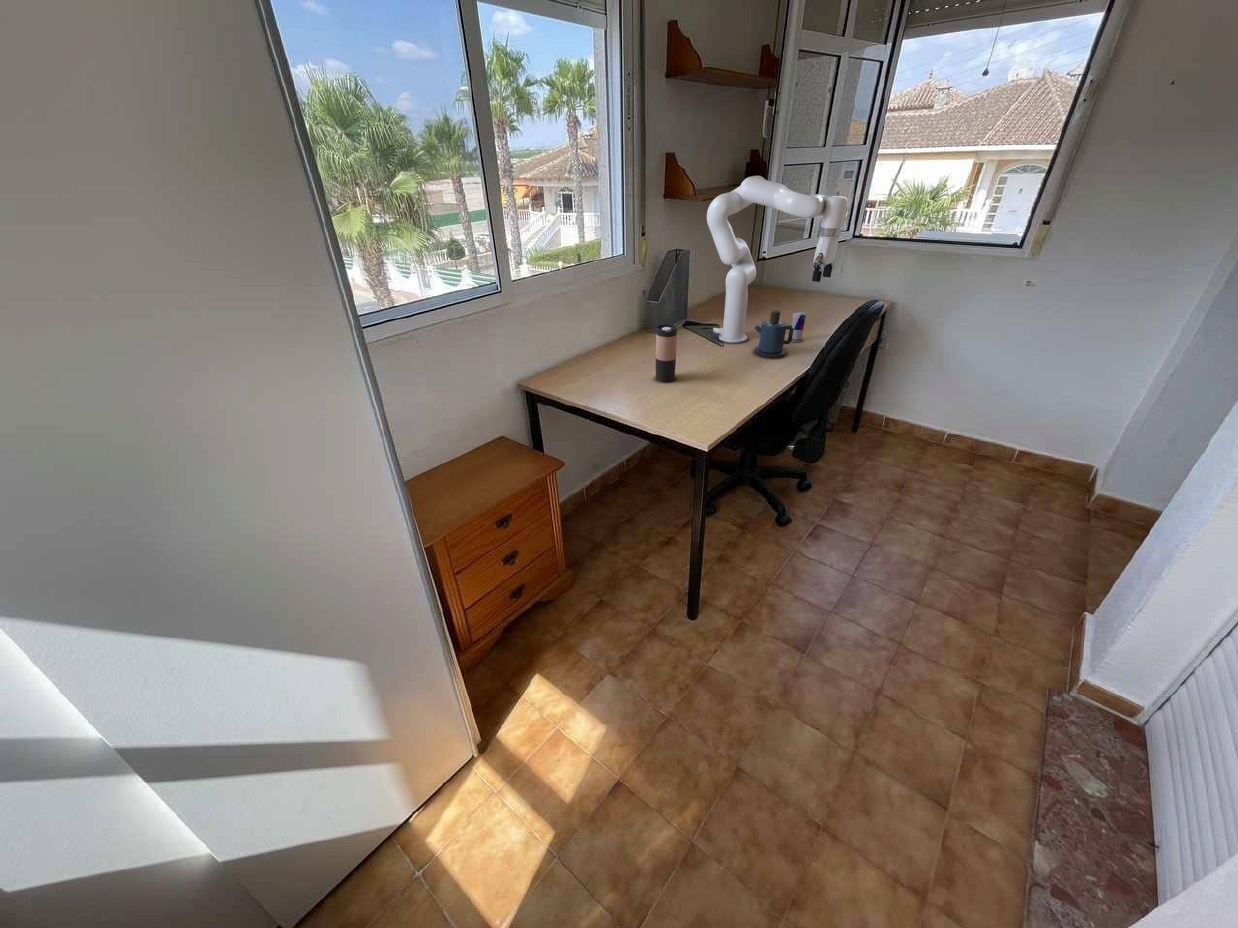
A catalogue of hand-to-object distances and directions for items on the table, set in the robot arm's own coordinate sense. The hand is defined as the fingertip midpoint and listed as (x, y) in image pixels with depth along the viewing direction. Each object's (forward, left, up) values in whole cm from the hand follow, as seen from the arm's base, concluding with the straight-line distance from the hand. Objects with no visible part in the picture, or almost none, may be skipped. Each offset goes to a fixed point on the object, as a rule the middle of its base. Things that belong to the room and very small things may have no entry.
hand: (821, 279), depth 207 cm
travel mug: (-50, -48, -30) cm, 75 cm away
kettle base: (-15, -8, -29) cm, 34 cm away
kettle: (-15, -8, -28) cm, 32 cm away
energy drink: (-6, +12, -30) cm, 33 cm away
